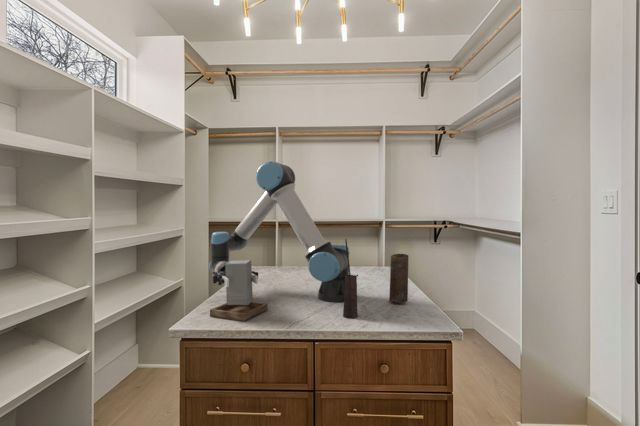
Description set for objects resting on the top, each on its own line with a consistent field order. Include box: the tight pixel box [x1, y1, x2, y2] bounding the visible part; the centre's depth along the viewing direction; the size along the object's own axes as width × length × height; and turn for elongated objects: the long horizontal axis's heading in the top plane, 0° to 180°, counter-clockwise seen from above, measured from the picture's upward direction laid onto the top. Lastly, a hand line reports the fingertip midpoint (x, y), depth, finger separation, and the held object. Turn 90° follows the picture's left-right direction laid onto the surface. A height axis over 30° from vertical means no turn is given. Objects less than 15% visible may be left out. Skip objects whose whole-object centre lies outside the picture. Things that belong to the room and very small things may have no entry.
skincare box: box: [225, 259, 254, 305], centre depth 130 cm, size 8×7×16 cm
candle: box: [388, 253, 410, 305], centre depth 143 cm, size 8×7×20 cm
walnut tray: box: [209, 301, 269, 323], centre depth 130 cm, size 15×15×2 cm
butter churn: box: [342, 238, 359, 319], centre depth 126 cm, size 9×10×28 cm
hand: (242, 281), depth 126 cm, fingers closed on skincare box, 10 cm apart
